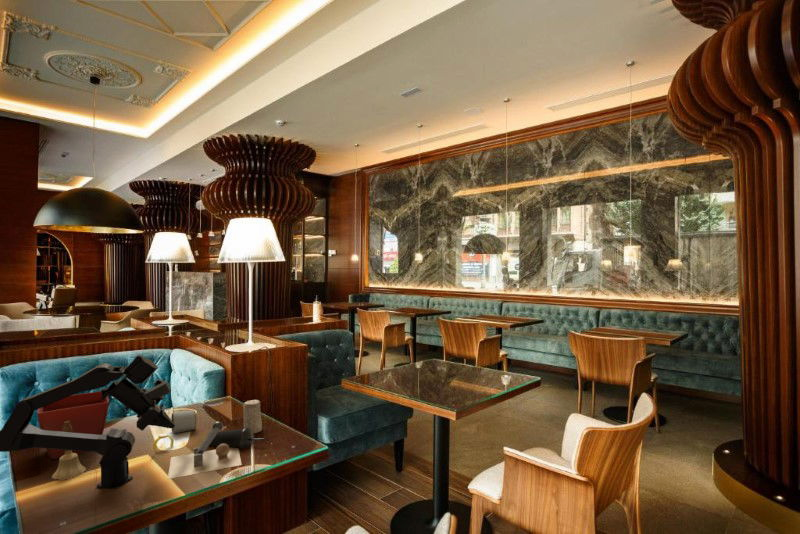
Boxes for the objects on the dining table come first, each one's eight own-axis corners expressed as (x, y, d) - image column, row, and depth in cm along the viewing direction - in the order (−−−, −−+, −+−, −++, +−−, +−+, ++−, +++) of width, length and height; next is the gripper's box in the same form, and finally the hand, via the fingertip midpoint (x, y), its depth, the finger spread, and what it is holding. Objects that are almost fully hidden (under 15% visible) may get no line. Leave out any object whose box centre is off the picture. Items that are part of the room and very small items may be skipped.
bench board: (167, 484, 126) (167, 466, 126) (171, 462, 140) (170, 446, 140) (241, 469, 134) (241, 453, 134) (237, 450, 148) (237, 435, 148)
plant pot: (107, 434, 165) (106, 389, 165) (110, 450, 150) (109, 401, 150) (42, 447, 154) (41, 399, 154) (37, 466, 139) (36, 413, 139)
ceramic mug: (197, 431, 166) (197, 410, 167) (173, 436, 162) (173, 415, 162) (192, 423, 175) (192, 404, 175) (169, 428, 170) (169, 408, 171)
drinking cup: (209, 456, 150) (262, 457, 146) (201, 441, 147) (255, 440, 142) (221, 438, 157) (272, 438, 152) (213, 423, 153) (265, 422, 149)
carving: (256, 429, 167) (255, 397, 167) (265, 434, 162) (265, 401, 162) (240, 433, 163) (239, 401, 163) (249, 439, 158) (248, 405, 158)
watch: (170, 449, 151) (171, 431, 151) (174, 451, 149) (175, 433, 149) (151, 453, 146) (152, 435, 147) (155, 456, 145) (156, 437, 145)
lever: (192, 456, 134) (216, 422, 136) (192, 451, 137) (216, 418, 140) (201, 460, 135) (225, 426, 137) (201, 455, 138) (224, 422, 141)
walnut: (216, 461, 136) (215, 447, 136) (215, 456, 140) (215, 442, 140) (229, 459, 138) (229, 445, 138) (229, 454, 142) (228, 440, 142)
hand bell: (58, 483, 128) (57, 428, 128) (46, 476, 132) (45, 423, 132) (91, 471, 135) (89, 419, 135) (78, 465, 139) (77, 414, 139)
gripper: (149, 381, 123) (193, 414, 127) (155, 367, 140) (194, 397, 144) (116, 413, 119) (163, 446, 124) (127, 395, 136) (168, 425, 141)
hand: (173, 426), depth 133 cm, fingers closed
